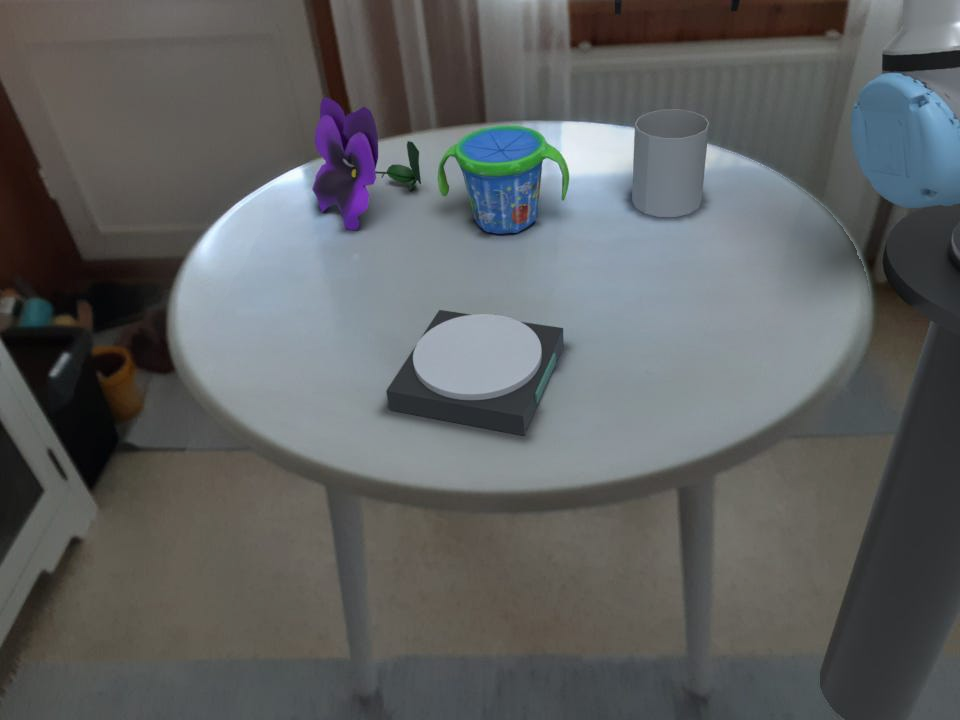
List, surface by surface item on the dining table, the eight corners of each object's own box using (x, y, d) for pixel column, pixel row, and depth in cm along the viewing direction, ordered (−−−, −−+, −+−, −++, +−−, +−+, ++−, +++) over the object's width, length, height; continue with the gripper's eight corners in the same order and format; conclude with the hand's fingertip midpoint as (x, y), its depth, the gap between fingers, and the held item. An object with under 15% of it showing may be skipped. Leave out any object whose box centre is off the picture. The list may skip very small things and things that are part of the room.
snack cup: (430, 236, 102) (420, 157, 96) (461, 195, 110) (453, 120, 103) (555, 250, 97) (553, 169, 91) (578, 207, 105) (578, 129, 99)
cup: (681, 179, 108) (687, 104, 102) (714, 208, 102) (722, 129, 96) (620, 193, 107) (623, 117, 100) (650, 223, 100) (655, 144, 94)
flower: (373, 209, 119) (289, 199, 110) (402, 103, 114) (316, 83, 105) (434, 247, 110) (347, 239, 100) (468, 134, 105) (380, 114, 95)
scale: (565, 347, 83) (565, 321, 81) (526, 436, 74) (524, 409, 72) (441, 328, 87) (438, 303, 85) (389, 410, 78) (384, 383, 76)
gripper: (785, -145, 104) (780, 20, 102) (581, -134, 108) (572, 24, 106) (797, -190, 96) (791, -13, 94) (578, -176, 101) (568, -7, 99)
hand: (675, 7), depth 100 cm, fingers open, 13 cm apart
